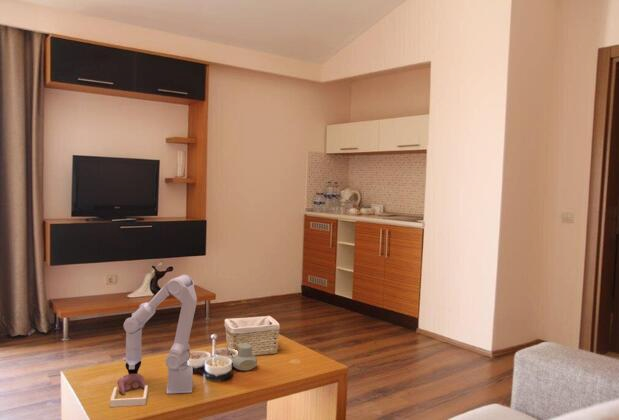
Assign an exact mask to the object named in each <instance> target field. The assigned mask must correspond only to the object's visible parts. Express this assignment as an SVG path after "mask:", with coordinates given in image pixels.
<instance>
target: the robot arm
mask: <svg viewBox="0 0 619 420" xmlns="http://www.w3.org/2000/svg"><path fill="white" fill-rule="evenodd" d="M169 296H172V297H174V298H176V299H177V300H178V301H180V303H181V307H180V308H181V309H180V313H179V317H178V322H177V325H176V331H175V336H174V341H173V344H172V345H171V348H170V349H169V353H168V354H167V355H166V358H165V365H166V367H167V369H168V371H167V373H168V374H167V384H166V395H171V394H173V395H174V394H189V393H192V392H193V386H194V380H193V376H194V375H193V374H194V373H193V370H194V369H193V366H192V365H188V361H189V360H190V358H191V352H190V347H191V345H190V344H189V341H190V337H191V330H192V326H193V321H194V318H195V317H194V316H195V313H196V308H197V302H198V297H197V294H196V290H195V281H194V280H193V278H191V276H190V275H188V274H181V275H179V276H176V277H174V278H171V279H169V280H168V282H166V283H165V284H164V285H163V286H162V287H161V288H160V290H158V292H156V294H155V295H154V296H153V297H152V298H151V300H150V301H148V302H142V303H141V304H139V305H138V307H139V308H138V309H136V311H135V312H132V313H131V317H127V318H126V319H125V321H124V322H123V330H124V331H125V334H126V335H125V357H122V361H123V362H124V361H125V362H126V363H125V368H126V370H127V373H128V374H133V373H136V374H139V369H140V368H141V365H142V359H143V358H142V341H143V340H142V338H143V337H142V336H143V335H142V334H143V333H142V332H143V328H144V327H145V326H146V325H145V324H146V323H147V322H148V321H149V320H150V319H151V318H152V317H153V316H154V315H155V313H156V308H157V307H158V306H159V305H160V304H161V303H162V302H163V301H164V300H165V299H166V298H167V297H169Z"/></svg>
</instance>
